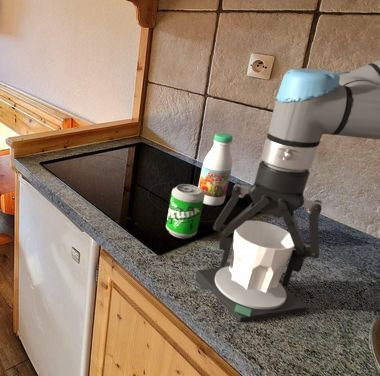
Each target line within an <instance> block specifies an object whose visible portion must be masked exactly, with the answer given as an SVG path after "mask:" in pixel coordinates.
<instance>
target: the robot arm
mask: <svg viewBox="0 0 380 376" xmlns="http://www.w3.org/2000/svg"><path fill="white" fill-rule="evenodd" d="M323 135H329V136H330V135H331V136H341V137H342V136H343V137H349V138H350V137H351V138H359V139H360V138H361V139H369V140H377V141H378V140H379V141H380V59H378V60H375V61H373V62H371V63H369V64H366V65H362V66H361V67H358V68H356V69H354V70H352V71H337V72H335V71H332V70H327V69H317V68H307V67H304V68H303V67H301V68H300V67H299V68H298V67H297V68H292V69H290V70H288V71H286V72H285V73H284V75H283V77H282V80H281V83H280V86H279V89H278V92H277V95H276V96H275V102H274V107H273V111H272V115H271V120H270V123H269V127H268V131H267V135H266V136H265V141H264V145H263V149H262V153H261V156H260V158H261V160H262V161H260V162H259V163H258V168H257V171H256V176H255V179H254V182H253V184H252V185H251V186H246V185H243V184H242V183H241V182H236V183H235V184H234V186H233V188H232V190H231V197H230V198H229V200H228V201H227V203H226V204H225V206H224V208H223V209H222V210H221V212H220V213H219V215H218V217H217V218H216V219H215V222H214V224H213V226H212V230H213V231H215V232H219V233H220V235H221V236H220V240H219V244H218V249H219V250H221V251H223V255H222V258H221V262H220V267H224V268H225V267H226V266H227V263H228V259H229V255H230V253H231V252H230V251H231V249H232V248H231V247H232V245H233V238H234V231H235V229H237V228H238V227H239V226H241V225H242V224H243V223H244V222H245V221H249V219H251V218H252V217H253V216H255V215H256V214H257V213H260V214H262V215H270V216H272V217H274V218H278V219H281V218H282V219H283V222H284V224H285V225H286V228H287V231H288V232H289V233H290V236H291V239H292V241H293V244H294V245H295V246H294V249H293V251H292V253H291V255H290V258H289V260H288V262H287V265H286V269H285V273H284V275H283V279H282V283H281V285H282V286H283V287H285V288H288V286H289V282H290V280H291V277H292V274H293V272H296V273H300V271H301V270H302V267H303V264H304V261H305V260H306V258H312V259H318V258H319V256H320V239H319V238H320V237H319V235H320V233H319V216H320V214H321V212H322V208H323V207H322V206H323V205H322V204H323V203H322V201H321V200H319V199H315V200H310V199H306V198H305V196H304V192H305V188H306V186H307V183H308V179H309V176H310V173H311V172H310V170H309V169H311V168H312V167H313V163H314V162H315V158H316V154H317V151H318V148H319V145H320V143H321V139H322V137H323ZM246 195H249V197H250V199H251V201H252V202H251V203H250V204H249V205H248V206H247V207H246V208H245V209H244V210H242V211H241V212H240V213H239V214H238V215H236V216H235V217H234V218H233V219H232V220H231V221H230V222H228V223H227V224H224V223H225V221H226V220H227V219H228V217H229V215H230V214H231V212H232V211H233V210H234V208H235V207H236V205H237V203H238V201H239V199H243V198H245V196H246ZM302 207H303V208H304V209H305V213H306V214H308V229H309V246H306V244H305V241H304V239H303V235H302V233H301V230H300V228H299V225H298V222H297V219H296V216H295V213H294V212H295V211H296V210H298V209H299V208H302Z"/></svg>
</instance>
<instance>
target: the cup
mask: <svg viewBox="0 0 380 376" xmlns="http://www.w3.org/2000/svg"><path fill="white" fill-rule="evenodd" d="M233 233H234V236H233V240H232V246H231V247H232V248H231V252H230V260H229V265H228V266H229V271H230V272H231V273H232V279H231V280H233V281H236V282H238V283H239V284H241V285H242V286H244V287H245V288H246V290H248V289H253V290H259V291H262V292H265V293H266V291H267V290H268V289H270V288H272V287H277V285H278V283H280V280H281V278H282V275H283V274H284V271H285V270H286V269H285V268H286V267H287V265H288V263H289V260H290V257H291V254H292V251H293V249H294V250H295V247H294V246H295V245H294V244H293V241H292V239H291V236H290V233H289V231H288V230H286V229H284V228H283V227H280V226H279V225H276V224H273V223H270V222H266V221H261V220H247V221H245V222H244V223H243V224H242V225H241V226H239V227H238V228H237V229H235V231H233Z"/></svg>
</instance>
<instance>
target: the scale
mask: <svg viewBox="0 0 380 376" xmlns="http://www.w3.org/2000/svg"><path fill="white" fill-rule="evenodd" d="M231 279H232V273H231V272H230V271H229V265H228V266H227V265H226V266H225V268H224V267H212V268H205V269H198V270H196V275H195V282H196V283H198V285H199V286H200V287H201V288H202V289H203V290H204V291H208V290H209V291H210V292H211V293H212V294H213V295H214V296H215V297H216V298H217V299H218V300H219V302H220V303H221V304H222V305H223V306H224V307H225V309H227V310H228V312H229V313H231V315H232V316H233V317H234V319H236V321H238V323H244V322H250V321H257V320H261V319H262V320H263V319H267V318H268V319H269V318H273V317H280V316H286V315H292V314H298V313H305V312H307V309H308V306H307V305H306V304H305V303H304V302H303V301H301V300H300V299H299V298H298V297H297V296H296V295H294V294H293V293H292V292H291V291H290V290H289V289H287V287H283V286H282V283H280V282H279V283H278V285H277V287H272V288H270V289H268V290H267V291H266V293H265V292H262V291H259V290H253V289H248V290H246V288H245V287H244V286H242V285H241V284H239V283H238V282H236V281H233V280H231Z"/></svg>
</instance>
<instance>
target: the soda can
mask: <svg viewBox="0 0 380 376" xmlns="http://www.w3.org/2000/svg"><path fill="white" fill-rule="evenodd" d="M204 197H205V195H204V193H203V192H202V190H201V189H200V188H199V187H198V186H197V185H194V184H190V183H189V184H187V183H182V184H178V185H176V187H173V188H172V190H171V194H170V199H169V206H168V213H167V218H166V223H165V228H166V230H167V231H168V233H169V234H170V235H172V236H173V237H176V238H178V239H189V238H192V237H193V236H195V235H197V233H198V229H199V226H200V221H201V220H200V219H201V215H202V211H203V205H204V203H203V201H204Z"/></svg>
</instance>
